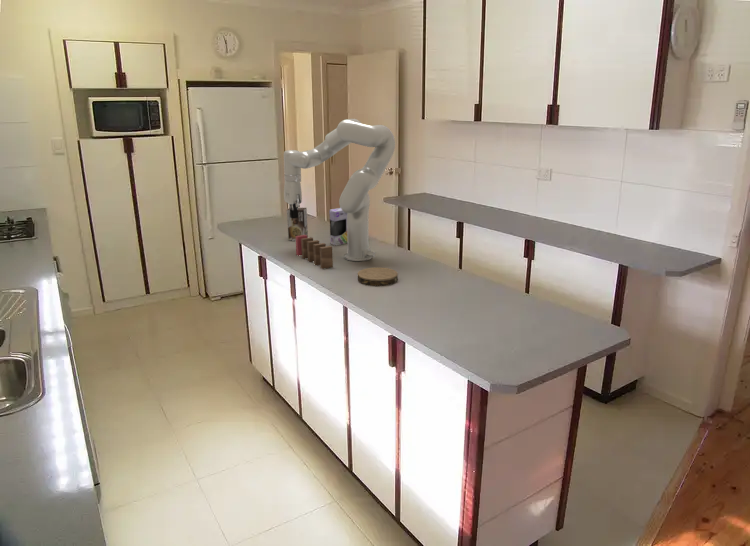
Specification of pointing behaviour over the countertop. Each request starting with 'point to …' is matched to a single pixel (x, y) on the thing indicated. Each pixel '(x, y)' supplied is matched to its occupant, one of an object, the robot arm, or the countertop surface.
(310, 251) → the domino
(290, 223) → the coffee box
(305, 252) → the domino
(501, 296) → the countertop surface
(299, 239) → the maroon domino
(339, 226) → the cake pan box
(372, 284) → the wooden log slice
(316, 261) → the domino
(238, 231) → the countertop surface
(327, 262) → the domino
